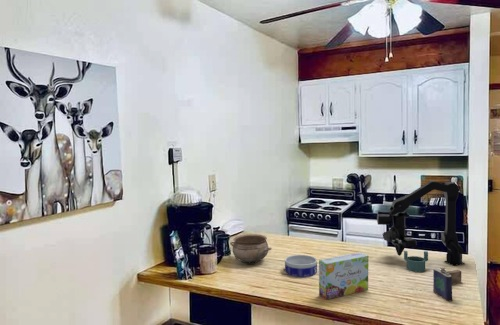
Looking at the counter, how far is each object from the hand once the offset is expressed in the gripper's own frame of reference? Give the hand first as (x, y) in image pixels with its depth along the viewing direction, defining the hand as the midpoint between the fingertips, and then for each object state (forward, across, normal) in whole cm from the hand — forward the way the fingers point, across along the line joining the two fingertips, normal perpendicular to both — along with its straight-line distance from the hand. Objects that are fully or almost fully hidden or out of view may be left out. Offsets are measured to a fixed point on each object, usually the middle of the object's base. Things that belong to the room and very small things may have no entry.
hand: (399, 255), depth 192 cm
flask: (+3, +40, -11) cm, 41 cm away
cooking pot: (+3, -29, -69) cm, 75 cm away
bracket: (+3, +12, 0) cm, 12 cm away
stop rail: (+3, +31, 0) cm, 31 cm away
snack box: (+3, +23, -45) cm, 51 cm away
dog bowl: (+3, -6, -51) cm, 52 cm away
